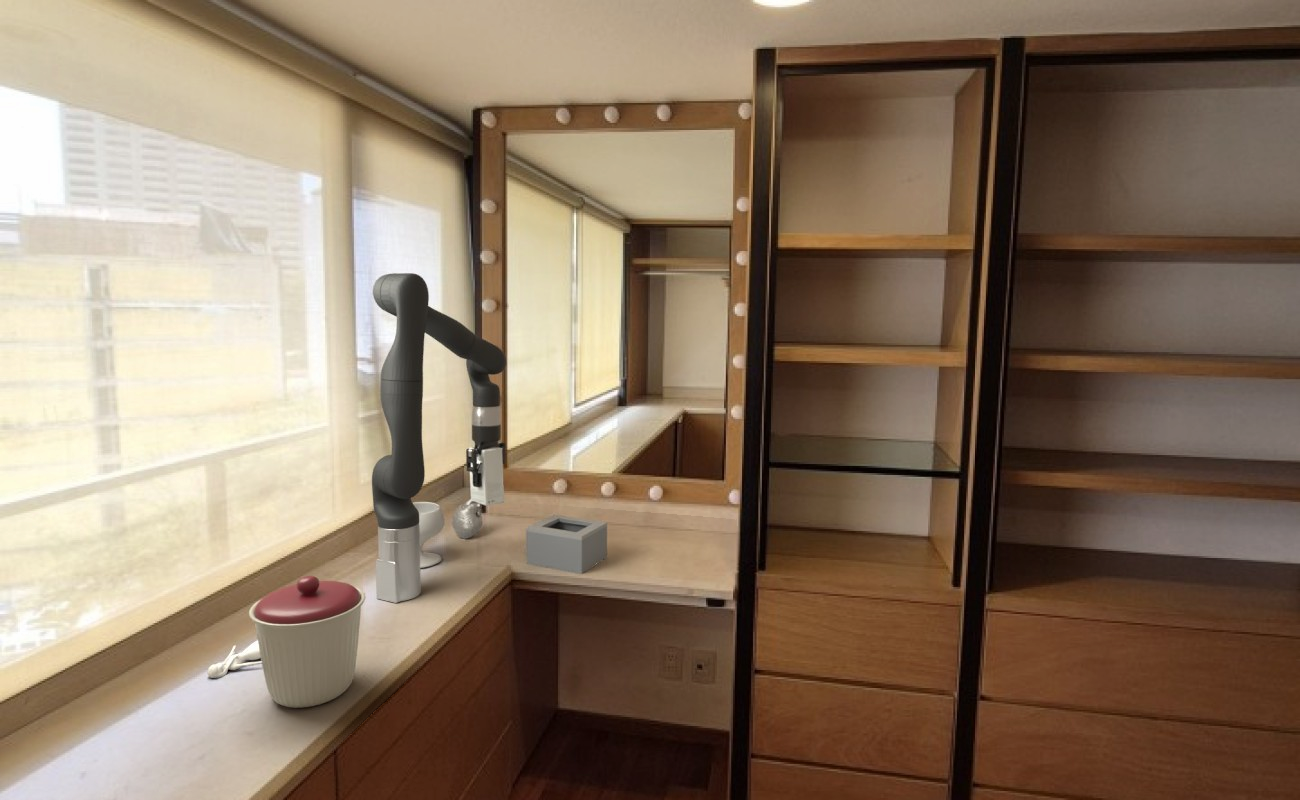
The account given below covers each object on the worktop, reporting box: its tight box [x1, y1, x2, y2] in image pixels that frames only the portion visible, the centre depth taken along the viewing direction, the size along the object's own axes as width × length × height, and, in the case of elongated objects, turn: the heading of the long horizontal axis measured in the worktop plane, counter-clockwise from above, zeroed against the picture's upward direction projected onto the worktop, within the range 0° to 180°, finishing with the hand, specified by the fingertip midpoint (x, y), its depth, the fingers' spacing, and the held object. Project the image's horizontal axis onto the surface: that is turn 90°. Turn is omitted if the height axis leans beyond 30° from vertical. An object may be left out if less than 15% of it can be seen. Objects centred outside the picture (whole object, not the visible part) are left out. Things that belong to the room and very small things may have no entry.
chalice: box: [412, 501, 445, 569], centre depth 189 cm, size 14×14×15 cm
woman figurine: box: [207, 639, 262, 679], centre depth 136 cm, size 12×4×18 cm
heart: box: [451, 498, 483, 540], centre depth 212 cm, size 10×10×12 cm
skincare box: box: [468, 446, 505, 506], centre depth 189 cm, size 8×6×15 cm
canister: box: [248, 575, 366, 709], centre depth 123 cm, size 18×18×21 cm
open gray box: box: [525, 514, 608, 575], centre depth 192 cm, size 14×17×10 cm
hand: (486, 483), depth 189 cm, fingers closed on skincare box, 7 cm apart
